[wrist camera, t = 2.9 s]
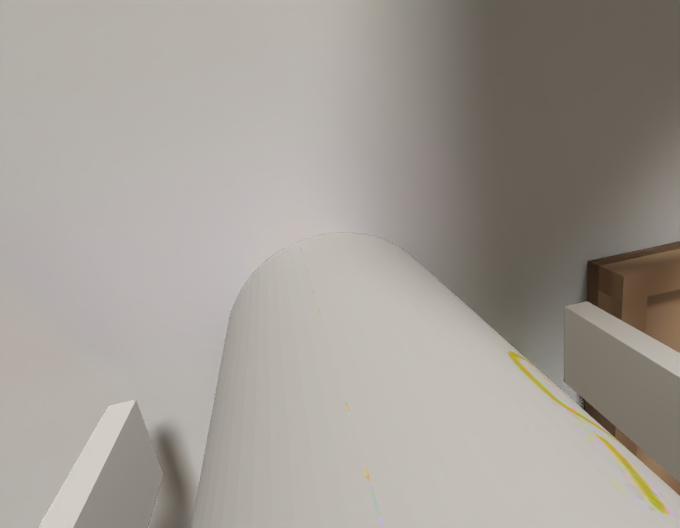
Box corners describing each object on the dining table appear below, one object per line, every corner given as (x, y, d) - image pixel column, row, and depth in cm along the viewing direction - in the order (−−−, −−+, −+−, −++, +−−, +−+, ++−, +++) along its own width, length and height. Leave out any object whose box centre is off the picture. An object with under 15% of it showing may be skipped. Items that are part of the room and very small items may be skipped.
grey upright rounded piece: (440, 417, 18) (724, 893, 7) (238, 445, 17) (188, 1068, 6) (448, 224, 16) (911, 477, 4) (213, 241, 15) (42, 638, 3)
